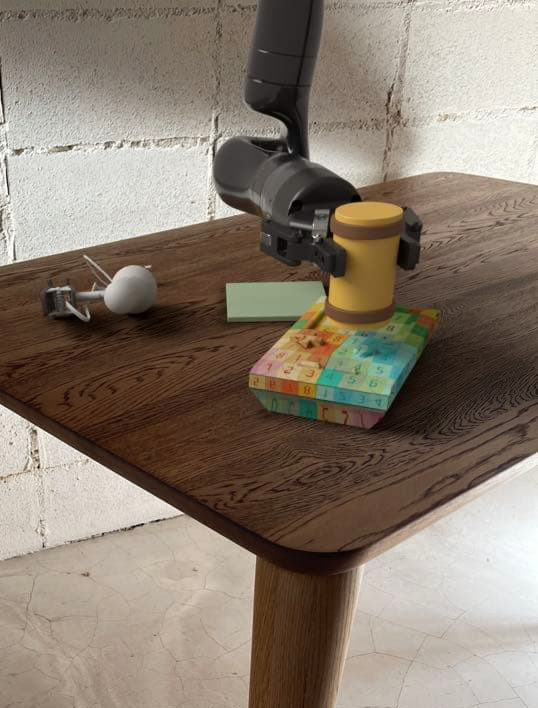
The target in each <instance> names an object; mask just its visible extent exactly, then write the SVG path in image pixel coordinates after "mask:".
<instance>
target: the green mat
mask: <svg viewBox="0 0 538 708" xmlns="http://www.w3.org/2000/svg"><path fill="white" fill-rule="evenodd" d="M225 293H226V311H227V313H226V315H227V323H257V322H258V323H264V322H297V321H298V320H299V319H300V318H301V317H302V316H303V315H304V314H305V313H306V312H307V311H308V310H309V309H310V308H311V307H312V306H313V305H314V304H315V303H316V302H317V300H318V299H319V298H320V297H321V296H326V297H327V293H326V291H325V287H324V285H323V282H322V281H321V280H316V281H313V280H311V281H310V280H309V281H308V280H307V281H269V282H266V281H265V282H264V281H263V282H229V283H228V282H226V284H225Z"/></svg>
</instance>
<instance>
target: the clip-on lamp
mask: <svg viewBox="0 0 538 708" xmlns="http://www.w3.org/2000/svg"><path fill="white" fill-rule="evenodd" d="M83 259H84V260H85V263H86V264H87V265H88V267H89V269H90V270H91V271H92V273H93V274H94V275H95V277H96V278H97V279H98V280H99V281H100V282H101V283H102V284H103V285H105V286H107V287H102V286H100V285H98V284H97V282H94V283H93V286H92V289H91V291H83V292H82V291H81V292H76V288H75V287H74V286H72V284H71V281H70V279H71V278H70V276H69V275H66V276H65V285H66V286H62V287H61V286H57V287H54V286H53V279H52V277H48V278H46V281H47V286H46V288H44V289H43V290H40V300H41V307H42V315H43V317H44V318H46V317H49V316H51V318H52V319H56V318H57V315H64V314H69V316H70V317H74V316H76V317H78V318H79V319H80V320H82V321H83V322H85V323H88V322H90V320H91V315H90V311H89V309H88V307H89V305H90V303H91V302H92V301H104V304H105V306H106V307H107V309H109V311H111V312H112V313H114V314H116V315H125V314H133V315H136V314H141V313H144V312H146V311H147V310H148V309H150V308H151V307H152V306H153V304H154V303H155V301H156V298H157V295H158V283H157V281H156V278H155V277H154V275H153V273H152V272H151V271H150V269H153V265H152V264H150V265H145V266H144V265H134V264H131V265H128V266H124V267H123V268H121V269H119V270H118V271H117V272H116V273H115V275H114V276H113V277H111V276H109V274H108V273H107V272H105V270H103V269H102V267H100V266H99V265H98V264H97V263H96V262H94V261H93V260H92V259H91V258H89V256H87V255H86V254H84V255H83ZM92 265H93V266H94V267H95V268H96V269H97V270H98V271H100V272H101V274H103V275H104V276H105V278H107V279H108V280H109V281H110V283H107V282H105V281H104V280H103V279H102V278H101V277H100V276H99V274H98V273H97V271H95V269H94V268H93V267H92ZM148 269H149V270H148ZM64 291H66V292H67V293H66V295H67V300H66V301H65V299H64V298H65V296H64V295H65V293H64ZM79 302H86V303H85V304H83V305H82V306H81V308H80V311H79V310H78V304H77V303H79ZM65 307H66V309H65ZM82 313H85V315H86V316H85V315H84V314H82Z"/></svg>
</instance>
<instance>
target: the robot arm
mask: <svg viewBox="0 0 538 708" xmlns="http://www.w3.org/2000/svg"><path fill="white" fill-rule="evenodd" d="M325 17H326V0H257V4H256V11H255V17H254V25H253V31H252V36H251V41H250V47H249V53H248V59H247V66H246V71H245V77H244V82H243V90H242V91H243V92H242V101H243V103H244V105H245V107H246V108H247V109H249V110H250V111H252V112H254V113H256V114H259V115H262V116H265V117H268V118H270V119H274V120H275V121H277V122H278V126H279V128H280V129H279V130H280V132H279V137H277V138H276V137H267V136H256V135H255V136H254V135H235V136H232V137H230V138H228V139H227V140H225V141H224V142H223V143H222V144H221V145H220V147H219V148H218V150H217V151H216V154H215V156H214V158H213V161H212V169H211V176H212V177H211V179H212V183H213V187H214V190H215V192H216V194H217V195H218V198H220V201H222V202H223V203H224V204H225V205H227V206H228V207H230V208H232V209H235V210H237V211H240V212H242V213H244V214H245V213H246V214H249V215H252V216H255V217H259V218H260V219H261V221H260V233H259V234H260V235H259V251H260V252H261V253H264V254H266V255H267V256H270V257H271V258H273V259H275V260H277V261H279V262H281V263H282V264H284V265H286V266H287V267H290V268H296V267H300V266H301V265H302V261H303V262H304V261H308V262H309V266H310V267H314V268H319V269H321V271H323V272H325V273H328V274H329V275H332V276H333V277H334V278H339V277H344V276H345V270H346V258H347V253H346V250H345V249H344V248H343V247H342V246H341V245H339V244H338V243H337V242H335V241H334V240H333V236H334V233H332V232H331V230H330V225H331V216H332V215H333V214H334V213H335V211H336V209H337V208H338V207H340V206H342V205H345V204H350V203H357V202H364V201H363V199H362V196H361V194H360V192H359V191H358V189H357V188H356V187H355V186H354V184H352V183H351V182H350V181H348V180H347V179H345V178H343V177H342V176H340V175H338V173H335V172H333V171H332V170H331V169H329V168H328V167H326V166H324V165H322V164H320V163H318V162H313V161H311V154H310V153H311V152H310V104H311V103H310V102H311V95H312V89H313V84H314V80H315V76H316V71H317V65H318V61H319V57H320V52H321V47H322V41H323V35H324V29H325V28H324V27H325ZM399 207H400V208H402V209H403V214H404V215H405V216H406V225H405V231H404V232H403V233H402V234H400V242H399V250H398V258H397V267H399V268H400V269H402V270H403V271H414V270H416V267H417V265H418V264H419V263H420V257H421V248H422V244H421V238H422V231H423V226H424V222H423V221H422V219H420V217H419V216H418V214H416V212H415V211H414V210H413V209H412V208H411V207H409V206H407V205H402V206H399Z"/></svg>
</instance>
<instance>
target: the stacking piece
mask: <svg viewBox="0 0 538 708" xmlns="http://www.w3.org/2000/svg"><path fill="white" fill-rule="evenodd" d="M400 207H401V206H398V205H396V204H393V203H388V202H382V201H381V202H380V201H379V202H378V201H363V202H357V203H350V204H345V205H342V206H340V207H338V208H337V209H336V211H335V213H334V214H333V215H332V216H331V225H330V230H331V232H332V233H334V236H333V240H334V241H335V242H337V243H338V244H339V245H341V246H342V247H343V248H344V249H345V250H346V253H347V258H346V270H345V276H344V277H339V278H334V277H333V276H332V275H331V274H329V277H330V278H329V289H328V295H326V299H325V306H324V312H325V314H326V315H327V320H328V322H329V323H330V324H331V325H333V326H335V327H337V328H341V329H345V330H351V331H370V330H376V329H380V328H383V327H385V326H387V325H388V324H389V322H390V318H391V317H393V315H394V313H395V306H396V305H397V300H396V299H395V297H394V290H395V283H396V276H397V267H398V265H397V258H398V250H399V242H400V234H402V233H403V232H404V231H405V225H406V216H405V215H404V214H403V209H402V208H400Z"/></svg>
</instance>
